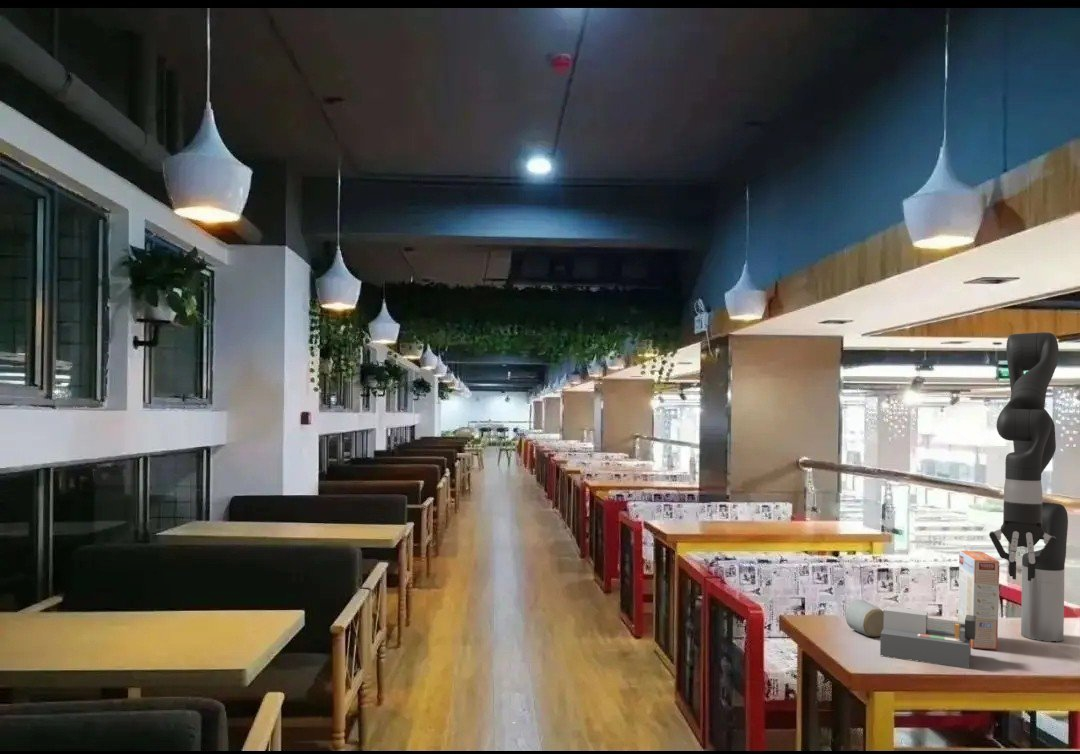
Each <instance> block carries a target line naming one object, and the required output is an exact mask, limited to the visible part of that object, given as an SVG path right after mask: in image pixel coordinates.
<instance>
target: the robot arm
mask: <svg viewBox="0 0 1080 754" xmlns="http://www.w3.org/2000/svg"><path fill="white" fill-rule="evenodd" d="M1058 343H1059V342H1058V339H1057V336H1056V335H1055V334H1053V333H1051V332H1043V331H1042V332H1029V333H1028V332H1027V333H1026V332H1025V333H1014V334H1009V336H1008V338H1007V340H1006V346H1005V347H1006V348H1005V350H1006V360H1007V369H1008V377H1009V387H1010V393H1011V394H1010V398H1009V401H1008V402H1007V404H1006V405H1005V406H1004V407H1003V408H1002V410H1001V411H1000V412H999V414H998V416H997V420H996V431H997V433H998V435H999V436H1000V438H1002V439H1004V440H1005V441H1011V442H1012V441H1013V452H1009V453H1008V454H1006V457H1005V478H1004V487H1003V495H1002V496H1003V512H1002V513H1003V518H1002V519H1003V522H1002V525H1001V526H1000V529H999V528H998V529H997V530H994V531H992V530H991V531H990V532H989V533H988V536H989V538H990V541H991V542H992V544H993V545H994V548H995V549H996V551H997V553H998V555H999V558H1001V559H1004V560H1007V561H1008V575H1009V576H1010V577H1011V578H1012V580H1017V561H1016V556H1017V549H1018V548H1020V547H1024V548H1027V552H1024V554H1023V555H1022V556H1021V557H1022V558H1021V608H1020V609H1021V616H1020V617H1021V619H1020V620H1021V622H1020V623H1021V624H1020V625H1021V628H1020V635H1021V636H1023V637H1024V636H1025V638H1028V639H1031V638H1032V640H1035V639H1037V640H1036V641H1041V640H1044V641H1043V642H1051V641H1056V642H1061V641H1062V642H1063V641H1064V636H1065V634H1064V632H1065V631H1064V629H1065V627H1064V626H1065V570H1066V568H1065V564H1066V563H1065V562H1066V558H1067V541H1068V530H1069V529H1068V527H1069V516H1068V512H1067V509H1066V507H1065V506H1064V505H1063V504H1060V503H1055V502H1046V501H1044V497H1043V487H1042V486H1043V485H1042V473H1043V472H1044V471H1045V469H1047V466H1048V465H1049V464H1050V462H1051V460H1052V459H1053V457H1054V455H1055V453H1056V447H1057V445H1056V444H1057V443H1056V441H1057V440H1056V428H1055V427H1056V425H1055V422H1054V419H1053V418H1052V417H1051V415H1050V414H1049V413H1048V411H1047V410H1046V409H1045V406H1046V405H1045V404H1046V399H1047V397H1046V396H1047V392H1048V388H1049V384H1050V383H1051V381H1052V378H1053V377H1054V375H1055V374H1054V373H1055V371H1056V369H1057V366H1058V362H1059V357H1060V356H1059V353H1060V352H1059V351H1060V350H1059V344H1058ZM1024 372H1025V373H1024ZM1002 535H1003V536H1004V537H1005V538H1006V540H1007V541H1008V544H1010V547H1009V553H1008V552H1006V551H1005V549H1004V547H1003V545H1002V544H1001V540H1002ZM1040 540H1043V543H1044V544H1045V545H1043V548H1041V549H1038V550H1035V549H1034V546H1036V544H1038V542H1039V541H1040Z"/></svg>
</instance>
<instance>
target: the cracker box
mask: <svg viewBox="0 0 1080 754" xmlns="http://www.w3.org/2000/svg"><path fill="white" fill-rule="evenodd" d="M958 560H959V562H958V563H959V564H958V599H957V600H958V602H957V603H958V606H957V608H958V609H957V613H958V614H957V621H959V622H965V618H966V615H973V616H976V635H975V640H973V639H971V649H981V650H991V651H993V650H995V651H998V641H999V640H998V637H999V636H998V635H999V634H998V632H999V631H998V630H999V602H1000V601H999V595H1000V592H999V589H1000V588H999V587H1000V561H999V560H998V559H996V558H994V557H992V556H990V555H988V554H987V553H985V552H983V551H978V550H977V551H976V550H959V559H958Z"/></svg>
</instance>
